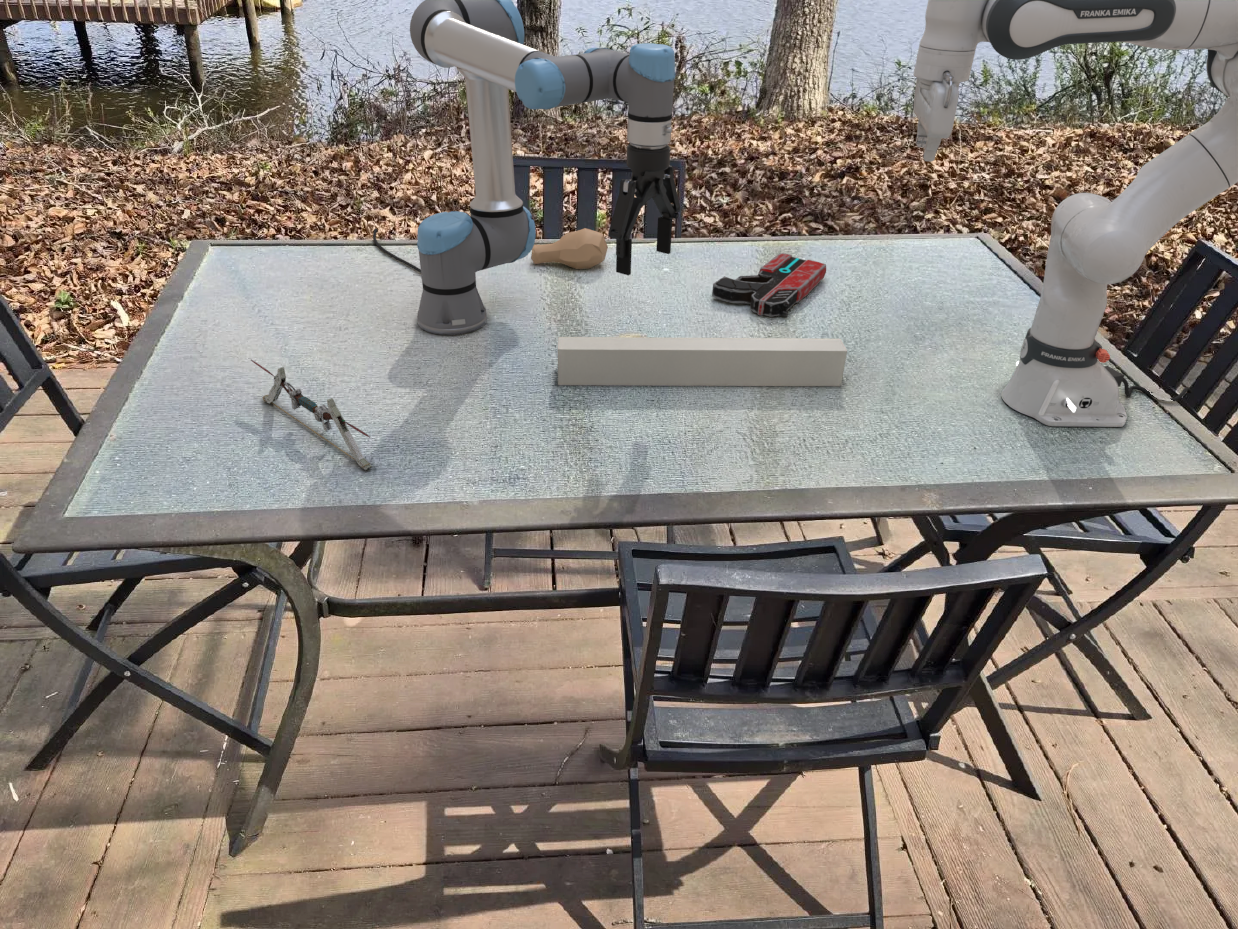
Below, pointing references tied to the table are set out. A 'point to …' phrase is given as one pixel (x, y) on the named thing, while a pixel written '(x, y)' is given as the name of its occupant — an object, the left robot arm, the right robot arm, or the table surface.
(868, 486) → the table surface
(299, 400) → the bow
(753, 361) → the post
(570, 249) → the squash
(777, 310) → the gun
